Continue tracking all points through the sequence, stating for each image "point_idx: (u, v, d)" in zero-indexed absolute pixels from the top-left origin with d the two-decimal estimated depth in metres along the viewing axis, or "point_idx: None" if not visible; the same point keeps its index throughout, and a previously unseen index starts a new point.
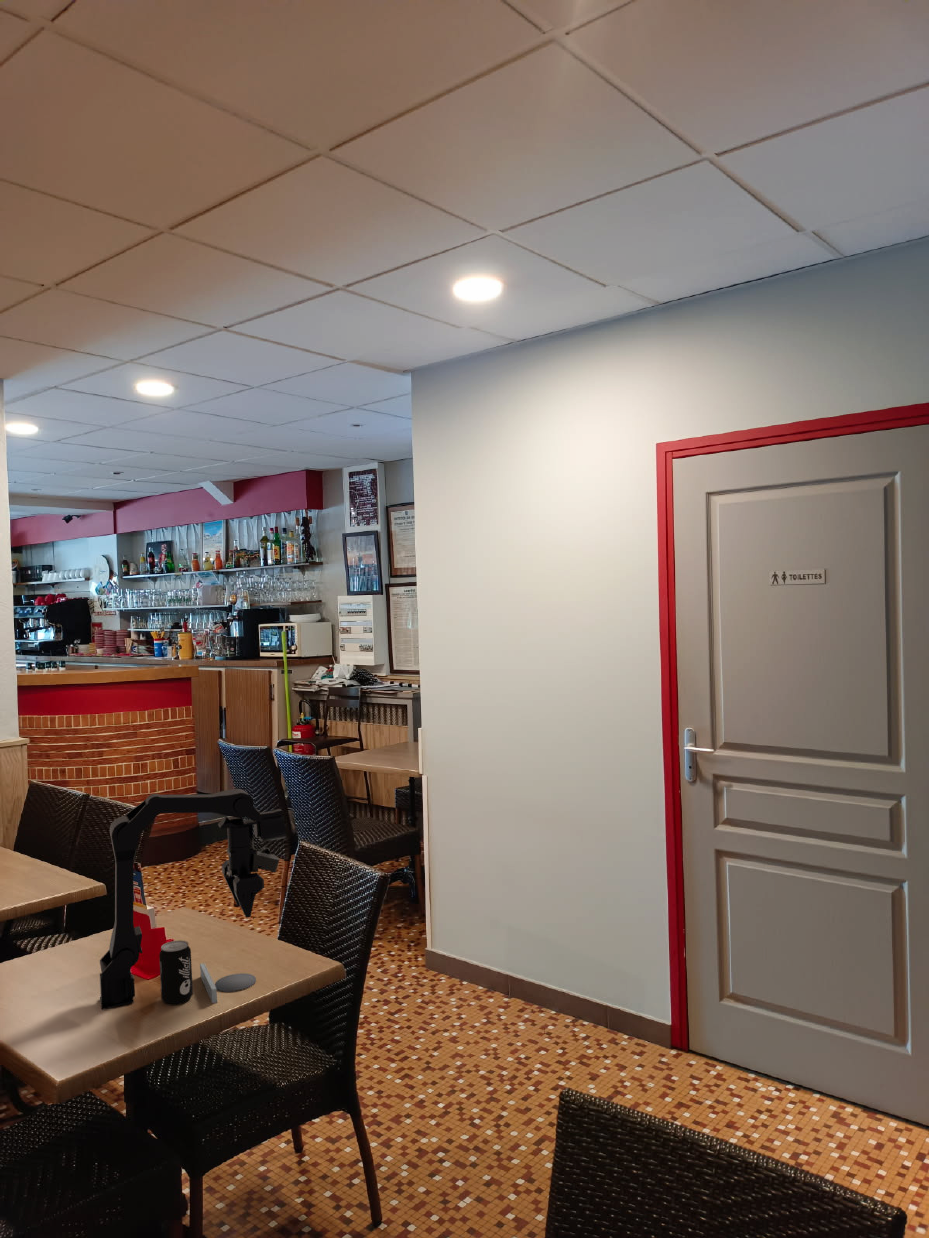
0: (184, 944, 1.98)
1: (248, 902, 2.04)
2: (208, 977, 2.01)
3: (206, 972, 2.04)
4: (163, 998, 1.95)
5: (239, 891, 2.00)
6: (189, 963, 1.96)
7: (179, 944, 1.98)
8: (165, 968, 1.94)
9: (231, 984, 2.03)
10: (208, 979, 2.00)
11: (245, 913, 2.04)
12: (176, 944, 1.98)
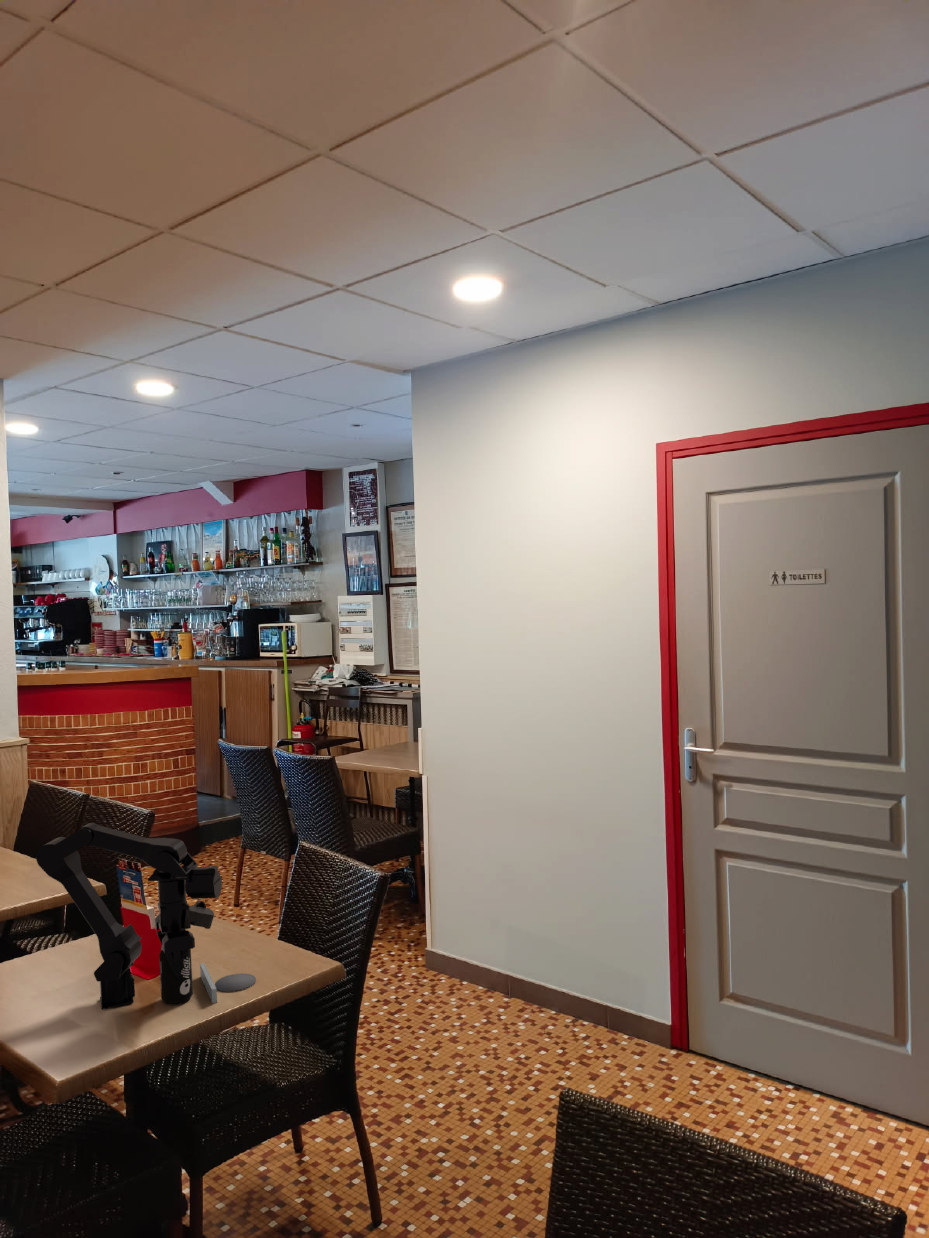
0: None
1: (178, 960, 1.93)
2: (208, 977, 2.01)
3: (206, 972, 2.04)
4: (163, 998, 1.95)
5: (167, 951, 1.87)
6: (189, 963, 1.96)
7: None
8: (165, 968, 1.94)
9: (231, 984, 2.03)
10: (208, 979, 2.00)
11: (175, 971, 1.93)
12: None
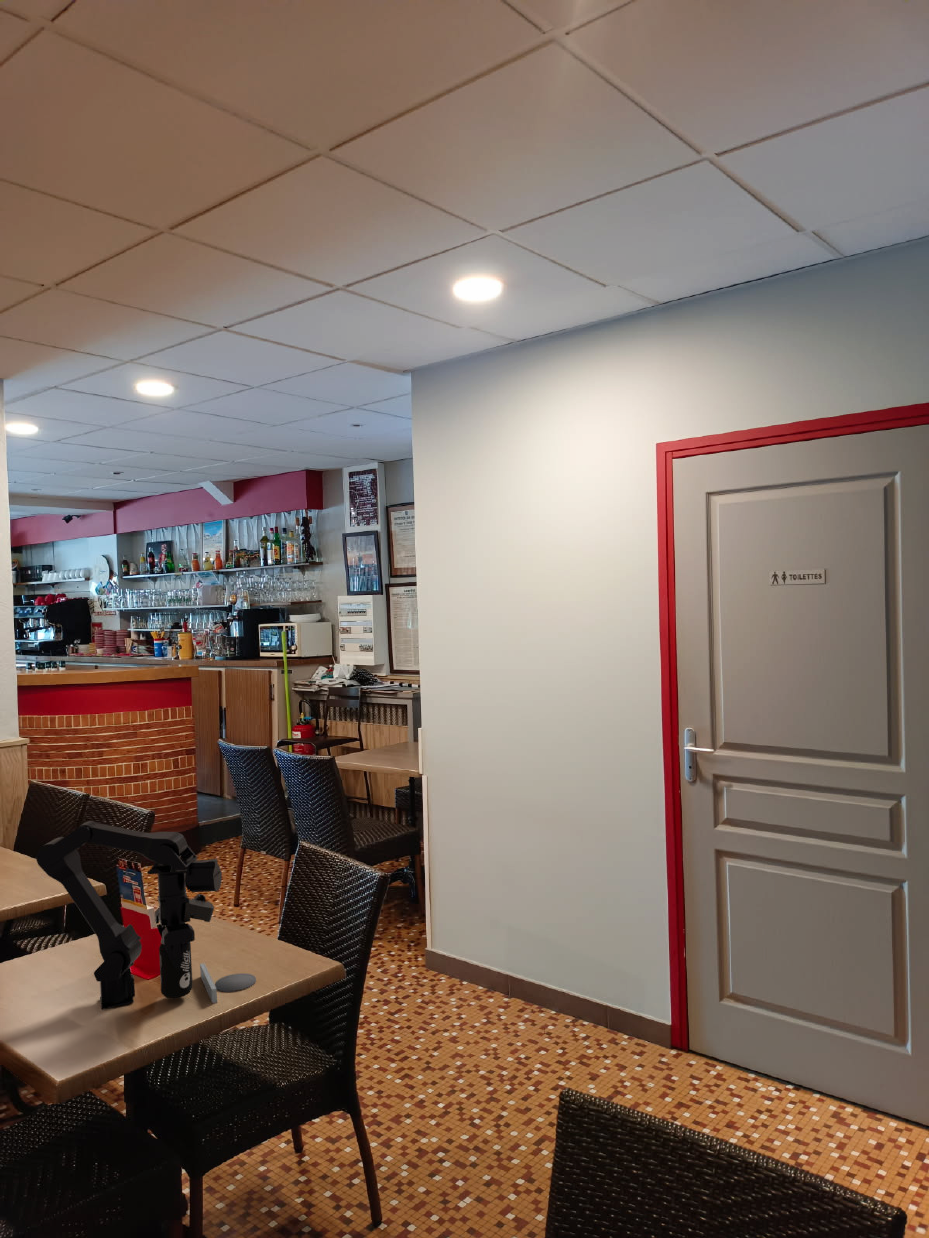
0: None
1: (177, 953, 1.93)
2: (208, 977, 2.01)
3: (206, 972, 2.04)
4: (163, 991, 1.95)
5: (167, 944, 1.87)
6: (189, 956, 1.96)
7: None
8: (164, 961, 1.94)
9: (231, 984, 2.03)
10: (208, 979, 2.00)
11: (174, 965, 1.93)
12: None
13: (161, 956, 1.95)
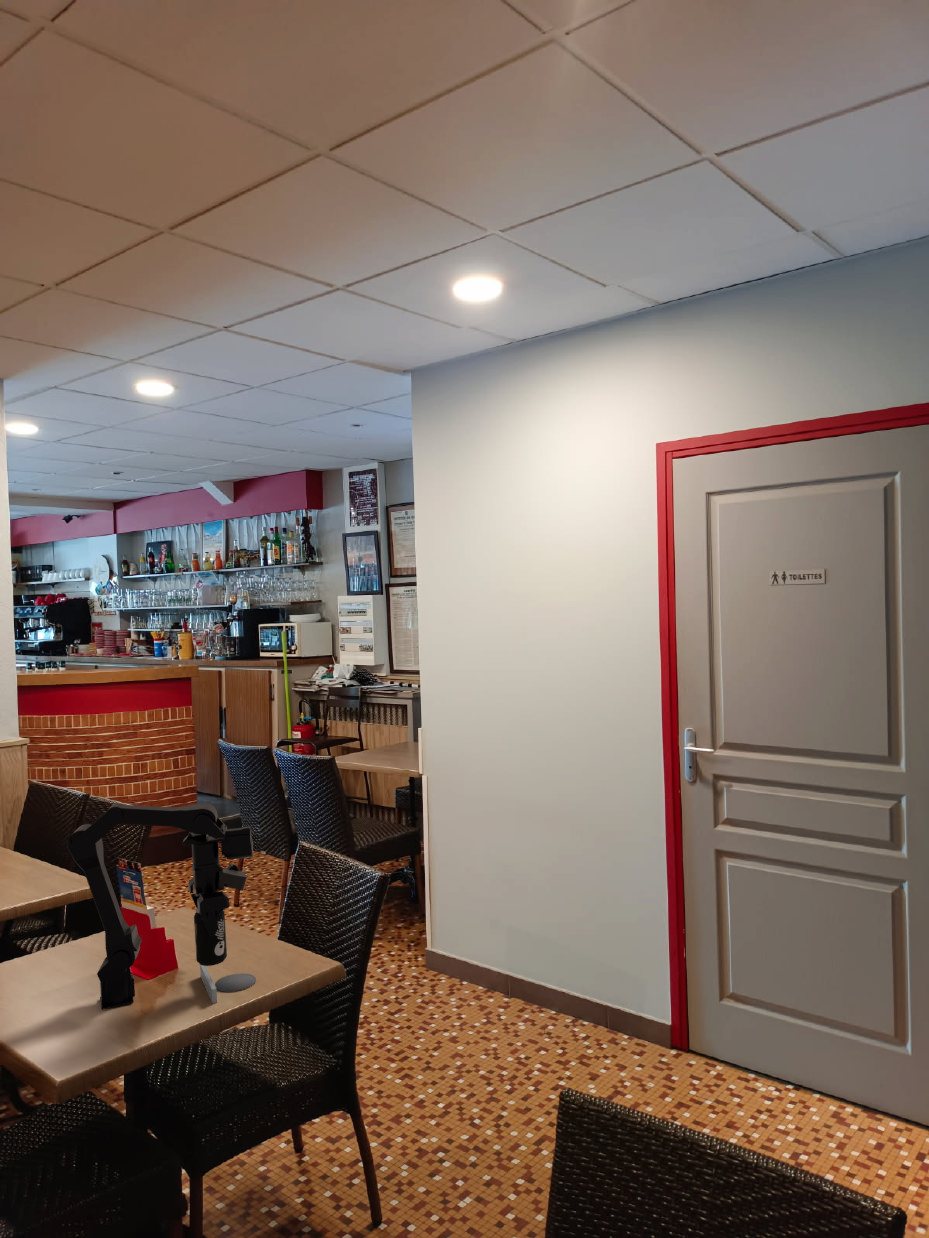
0: None
1: (212, 920, 1.97)
2: (208, 977, 2.01)
3: (206, 972, 2.04)
4: (198, 959, 1.99)
5: (203, 911, 1.92)
6: (223, 925, 2.01)
7: None
8: (199, 930, 1.98)
9: (231, 984, 2.03)
10: (208, 979, 2.00)
11: (209, 932, 1.97)
12: None
13: (196, 925, 1.99)
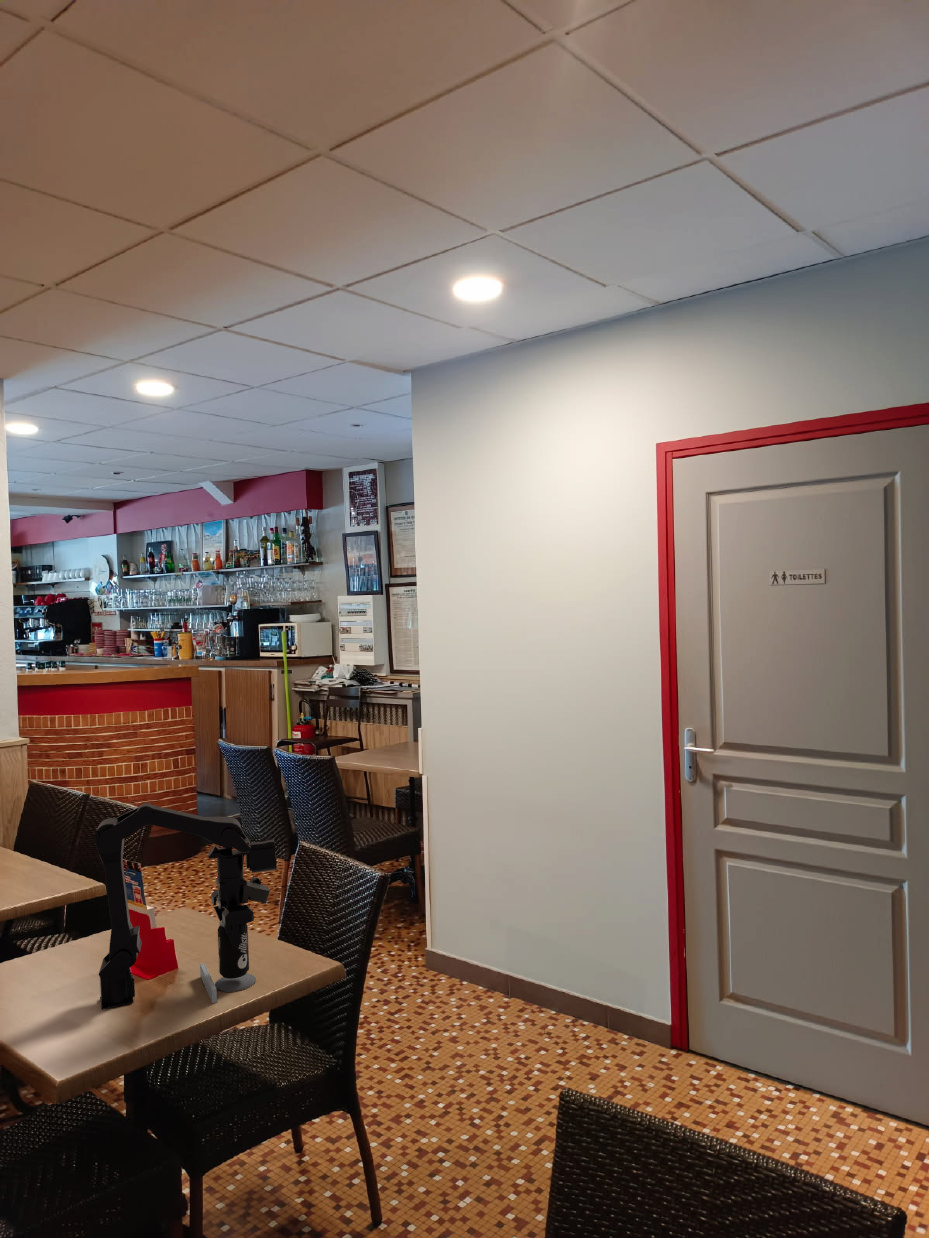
0: None
1: (236, 933, 2.00)
2: (208, 977, 2.01)
3: (206, 972, 2.04)
4: (221, 972, 2.02)
5: (228, 924, 1.95)
6: (246, 938, 2.04)
7: None
8: (223, 943, 2.01)
9: (231, 984, 2.03)
10: (208, 979, 2.00)
11: (233, 944, 2.00)
12: None
13: (220, 938, 2.02)
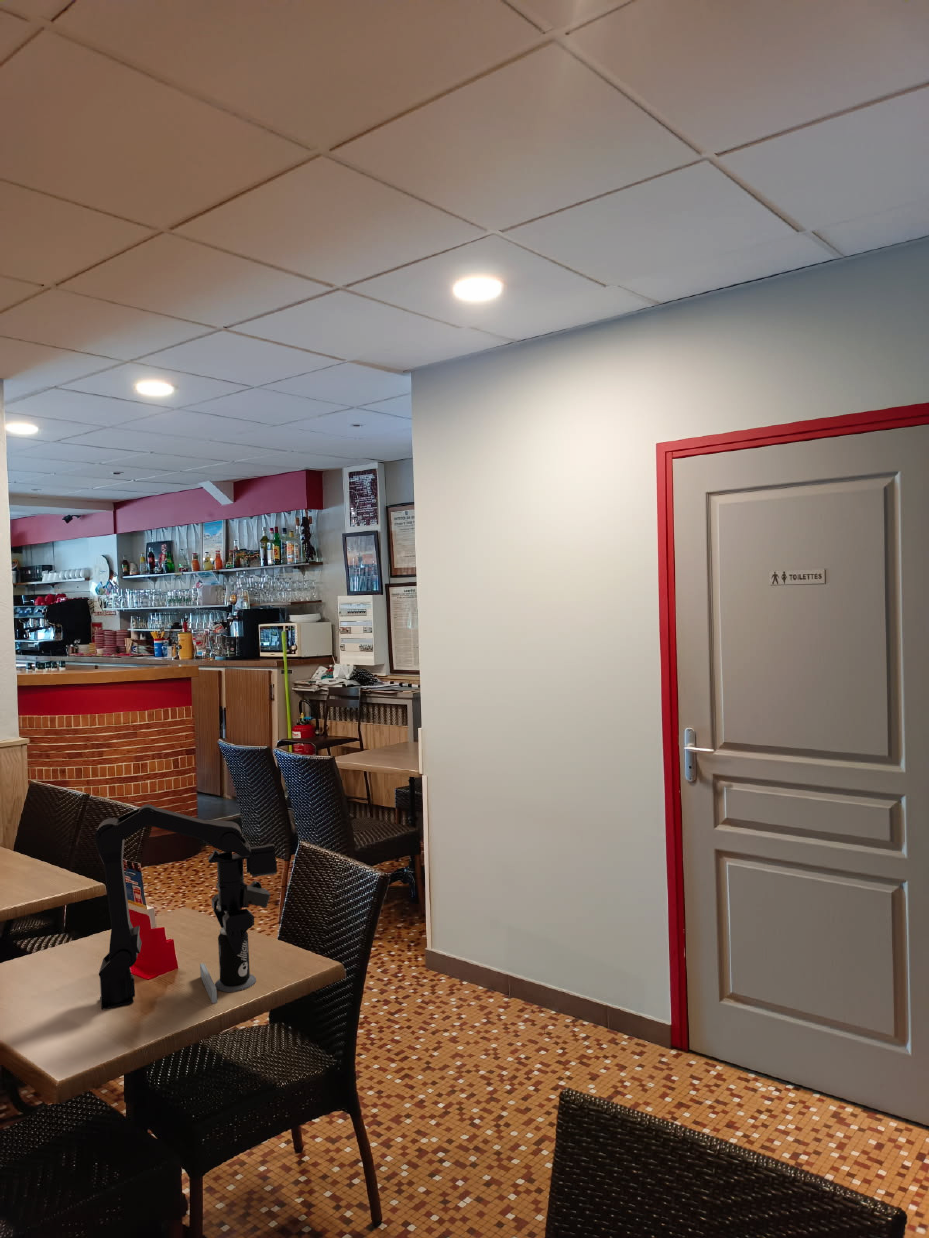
0: None
1: (238, 939, 1.99)
2: (208, 977, 2.01)
3: (206, 972, 2.04)
4: (222, 980, 2.02)
5: (228, 928, 1.95)
6: (246, 946, 2.04)
7: None
8: (224, 951, 2.01)
9: None
10: (208, 979, 2.00)
11: (235, 950, 1.99)
12: None
13: (220, 946, 2.02)
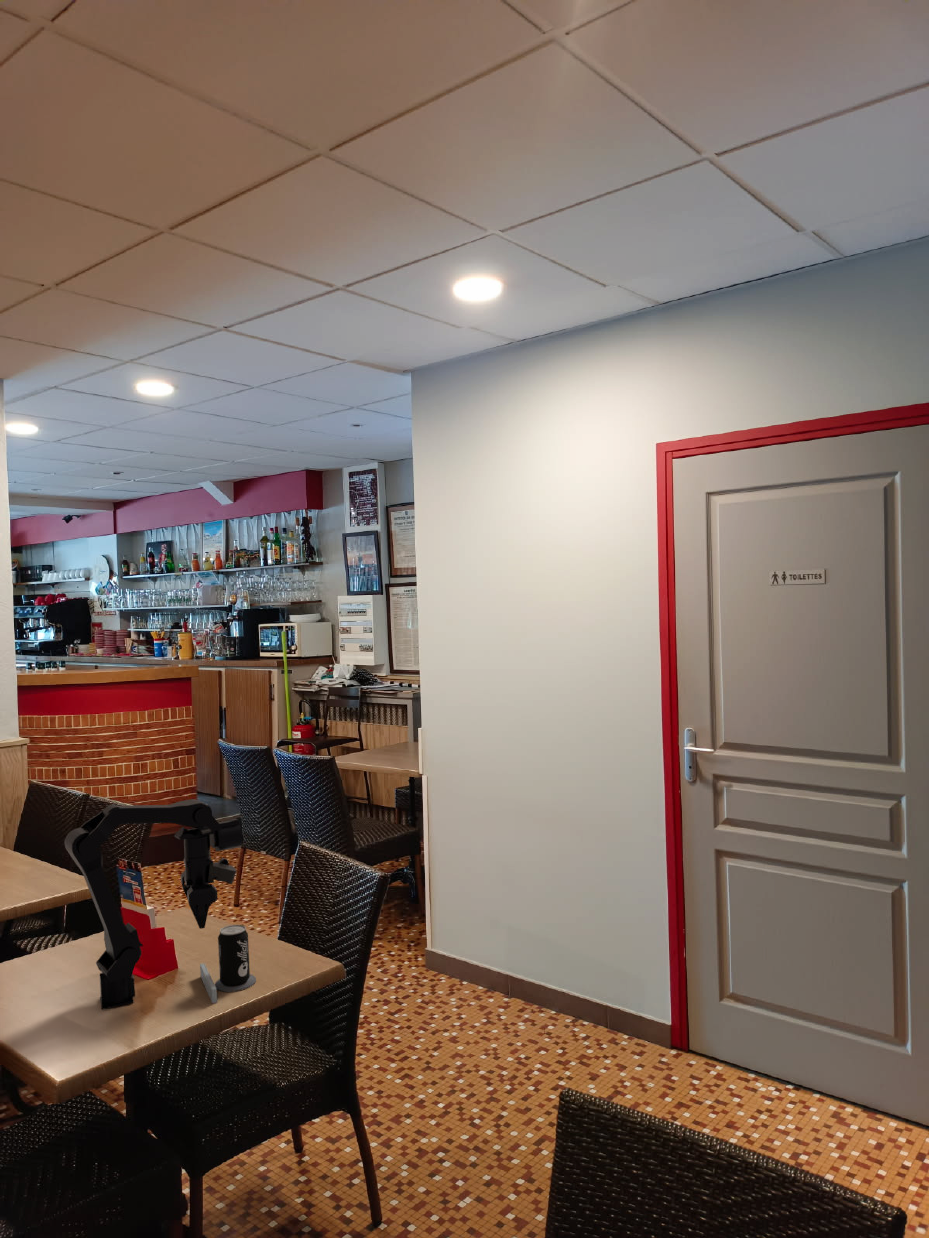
0: (241, 928, 2.05)
1: (202, 913, 2.03)
2: (208, 977, 2.01)
3: (206, 972, 2.04)
4: (222, 980, 2.02)
5: (191, 902, 1.99)
6: (246, 946, 2.04)
7: (236, 928, 2.05)
8: (224, 951, 2.01)
9: None
10: (208, 979, 2.00)
11: (199, 924, 2.04)
12: (234, 928, 2.05)
13: (220, 946, 2.02)
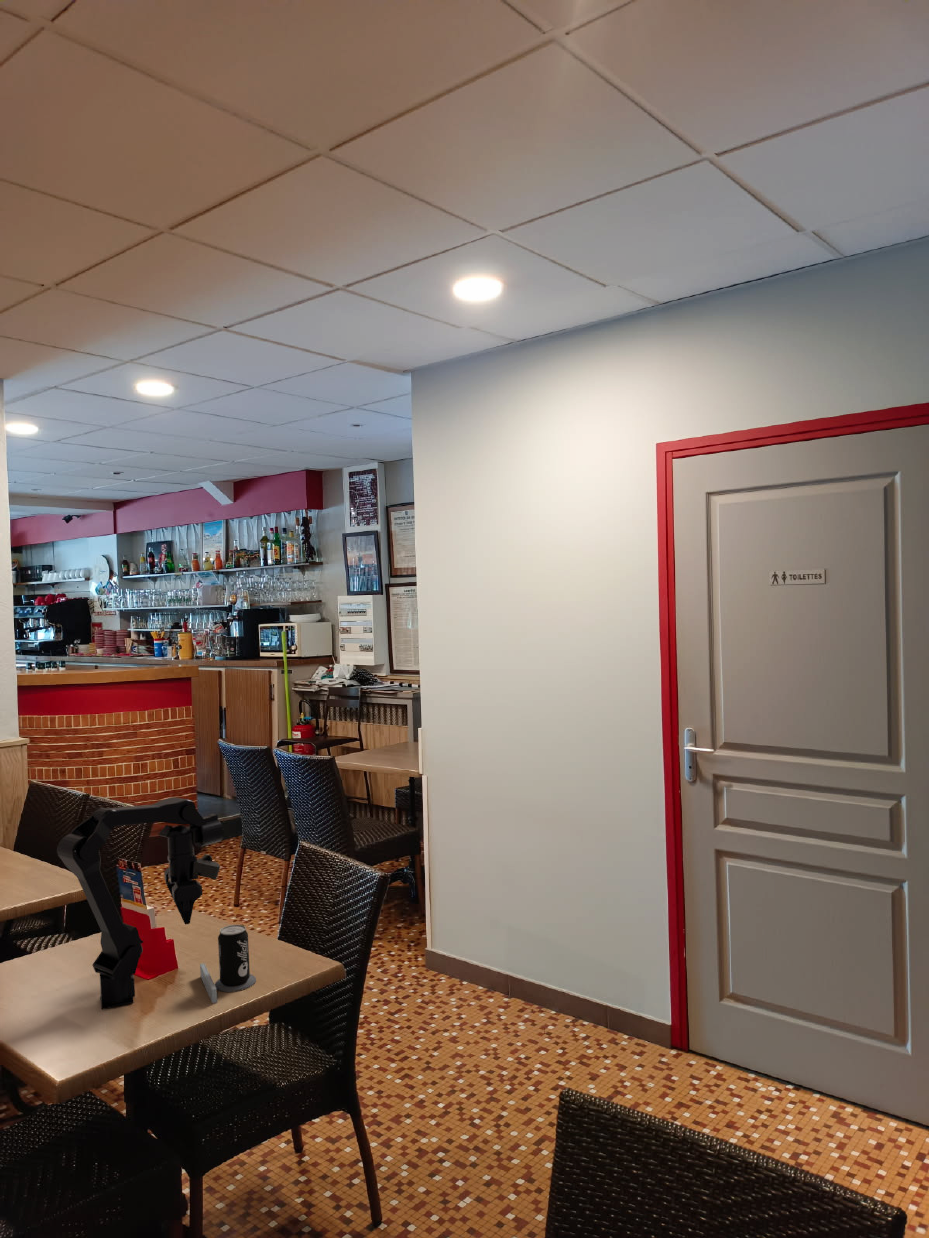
0: (241, 928, 2.05)
1: (187, 909, 2.06)
2: (208, 977, 2.01)
3: (206, 972, 2.04)
4: (222, 980, 2.02)
5: (177, 898, 2.02)
6: (246, 946, 2.04)
7: (236, 928, 2.05)
8: (224, 951, 2.01)
9: None
10: (208, 979, 2.00)
11: (184, 920, 2.06)
12: (234, 928, 2.05)
13: (220, 946, 2.02)
